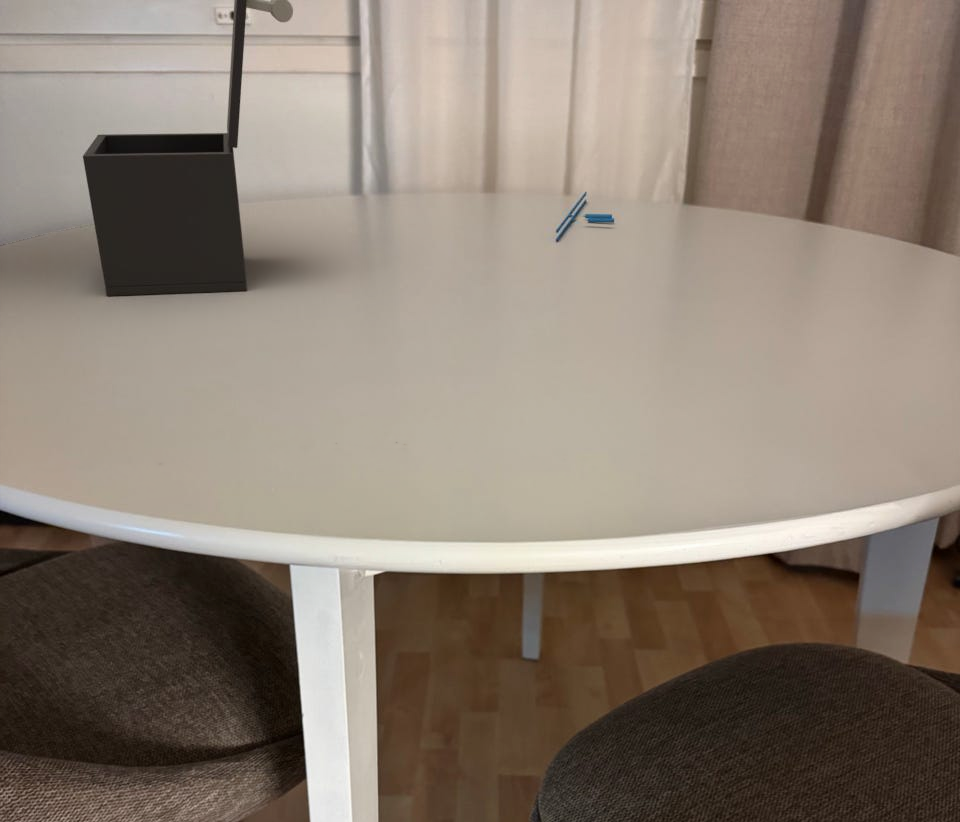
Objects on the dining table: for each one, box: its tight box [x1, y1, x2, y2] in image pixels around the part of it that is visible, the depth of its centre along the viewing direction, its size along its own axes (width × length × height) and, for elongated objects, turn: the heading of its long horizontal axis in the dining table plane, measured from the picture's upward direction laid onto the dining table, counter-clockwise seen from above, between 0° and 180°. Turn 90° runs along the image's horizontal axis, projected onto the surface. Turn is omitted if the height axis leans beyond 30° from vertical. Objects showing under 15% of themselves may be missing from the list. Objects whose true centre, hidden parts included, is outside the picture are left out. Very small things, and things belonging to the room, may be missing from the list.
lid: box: [226, 0, 294, 149], centre depth 95 cm, size 14×14×5 cm
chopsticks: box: [555, 191, 615, 242], centre depth 128 cm, size 1×25×5 cm
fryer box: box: [82, 132, 248, 297], centre depth 100 cm, size 13×14×12 cm
